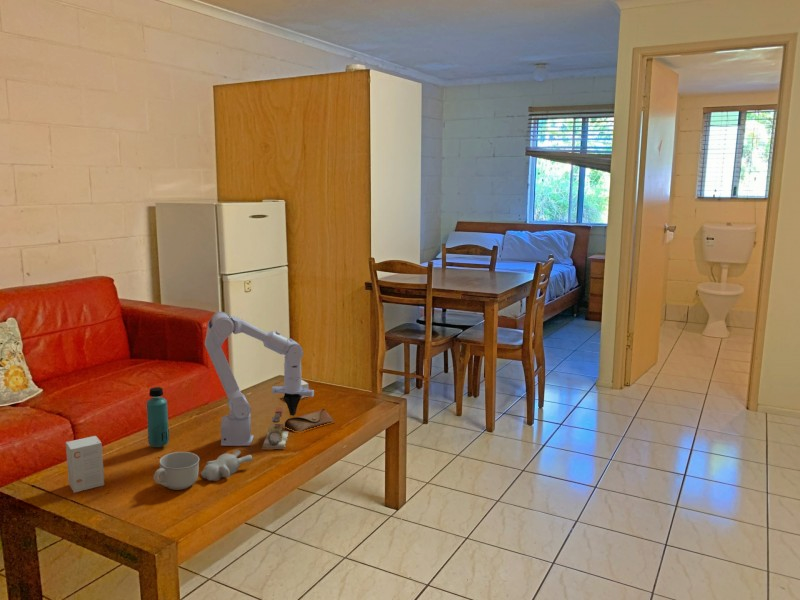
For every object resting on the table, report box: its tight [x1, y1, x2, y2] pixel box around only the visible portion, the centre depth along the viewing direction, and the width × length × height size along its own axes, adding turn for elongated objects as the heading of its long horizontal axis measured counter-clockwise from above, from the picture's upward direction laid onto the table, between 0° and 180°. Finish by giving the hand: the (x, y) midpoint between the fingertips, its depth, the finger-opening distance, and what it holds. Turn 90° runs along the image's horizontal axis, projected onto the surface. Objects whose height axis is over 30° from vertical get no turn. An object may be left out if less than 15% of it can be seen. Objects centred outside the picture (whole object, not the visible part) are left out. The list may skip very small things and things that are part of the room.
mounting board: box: [261, 430, 290, 450], centre depth 213 cm, size 13×7×1 cm, turn 3°
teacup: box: [153, 451, 200, 491], centre depth 180 cm, size 14×11×8 cm
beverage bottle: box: [145, 386, 170, 448], centre depth 204 cm, size 6×7×20 cm
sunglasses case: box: [284, 408, 335, 432], centre depth 229 cm, size 18×7×7 cm, turn 135°
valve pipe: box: [267, 423, 284, 446], centre depth 213 cm, size 11×4×6 cm, turn 3°
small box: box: [65, 435, 105, 494], centre depth 179 cm, size 8×6×13 cm
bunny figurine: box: [200, 449, 254, 482], centre depth 190 cm, size 10×5×15 cm
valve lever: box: [271, 407, 284, 424], centre depth 216 cm, size 10×2×2 cm, turn 1°
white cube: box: [301, 379, 310, 398], centre depth 257 cm, size 6×6×6 cm
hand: (292, 414), depth 218 cm, fingers closed
